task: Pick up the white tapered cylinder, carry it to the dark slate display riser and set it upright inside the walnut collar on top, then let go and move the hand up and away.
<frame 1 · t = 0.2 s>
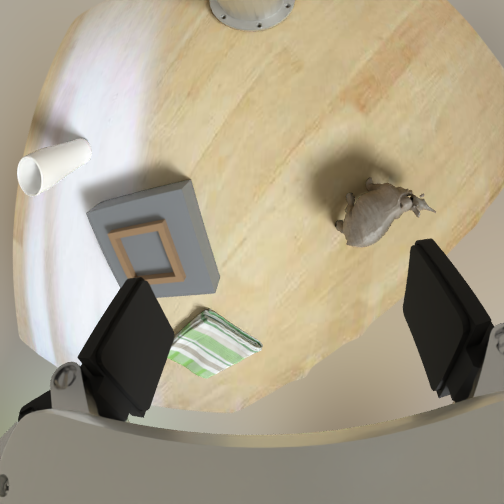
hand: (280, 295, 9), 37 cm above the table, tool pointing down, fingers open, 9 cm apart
white tapered cylinder: (83, 150, 44), on the table
display riser: (157, 239, 52), on the table
dish towel: (208, 345, 68), on the table
rhinoceros figurine: (374, 198, 44), on the table
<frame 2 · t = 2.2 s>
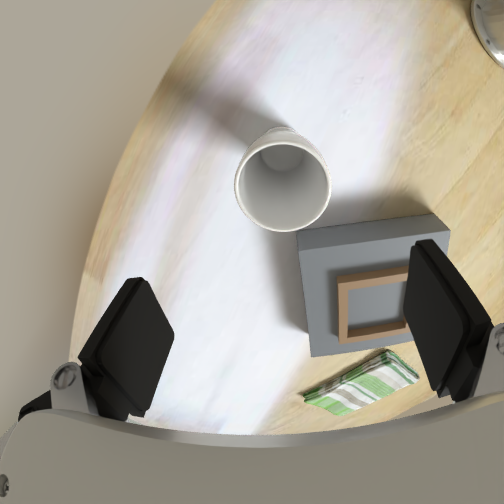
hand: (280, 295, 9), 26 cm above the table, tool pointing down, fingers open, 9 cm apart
white tapered cylinder: (281, 147, 31), on the table
display riser: (369, 281, 40), on the table
dish towel: (362, 384, 55), on the table
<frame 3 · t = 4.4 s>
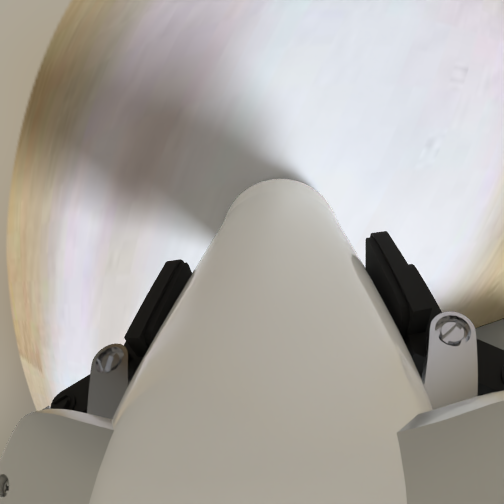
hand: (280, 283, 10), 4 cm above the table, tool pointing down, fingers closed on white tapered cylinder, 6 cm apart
white tapered cylinder: (280, 225, 14), on the table, touching gripper
display riser: (405, 402, 22), on the table
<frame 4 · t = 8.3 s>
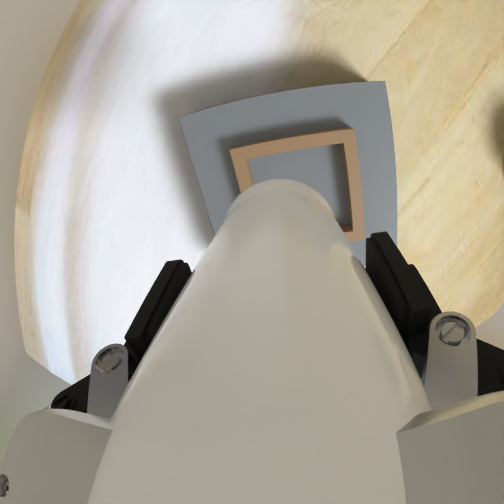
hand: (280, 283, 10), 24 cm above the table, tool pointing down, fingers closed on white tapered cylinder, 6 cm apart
white tapered cylinder: (280, 225, 14), point 19 cm above the table, touching gripper
display riser: (298, 177, 31), on the table
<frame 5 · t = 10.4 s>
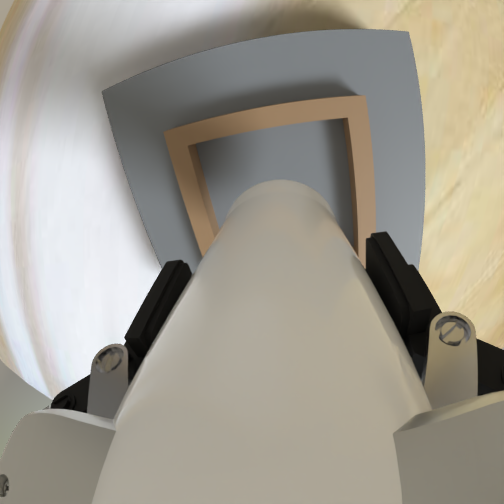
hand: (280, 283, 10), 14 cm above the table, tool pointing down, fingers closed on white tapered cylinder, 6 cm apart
white tapered cylinder: (280, 226, 14), point 9 cm above the table, touching gripper
display riser: (280, 173, 22), on the table
when the fingers open (11 cm above the table, at t = 12.3 s): white tapered cylinder drops 1 cm, resting on display riser.
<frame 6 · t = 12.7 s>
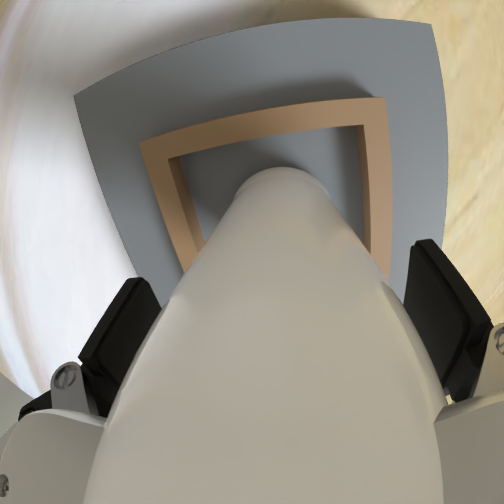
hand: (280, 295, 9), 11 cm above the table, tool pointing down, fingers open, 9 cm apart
white tapered cylinder: (282, 211, 15), point 5 cm above the table, touching display riser
display riser: (280, 186, 19), on the table
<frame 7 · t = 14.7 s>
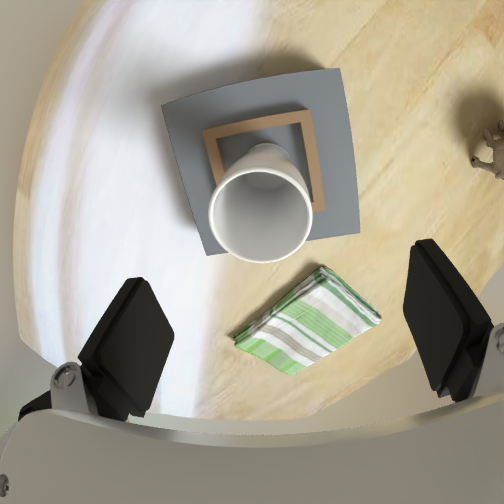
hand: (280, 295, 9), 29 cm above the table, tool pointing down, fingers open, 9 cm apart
white tapered cylinder: (267, 164, 31), point 5 cm above the table, touching display riser
display riser: (268, 158, 35), on the table
dish towel: (306, 325, 50), on the table
rhinoceros figurine: (501, 143, 28), on the table
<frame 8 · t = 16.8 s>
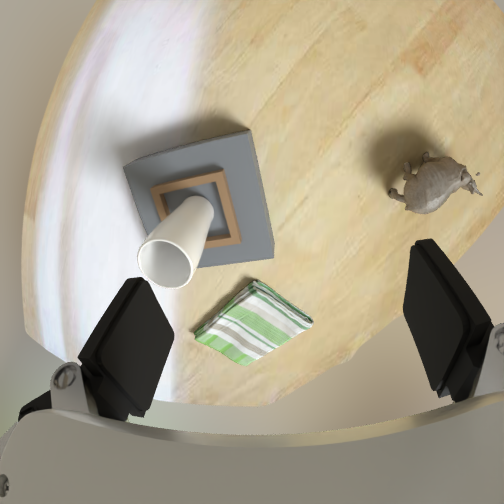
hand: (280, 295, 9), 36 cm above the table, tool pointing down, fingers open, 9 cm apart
white tapered cylinder: (198, 210, 43), point 5 cm above the table, touching display riser
display riser: (205, 200, 47), on the table
dish towel: (251, 325, 62), on the table
rhinoceros figurine: (427, 173, 40), on the table
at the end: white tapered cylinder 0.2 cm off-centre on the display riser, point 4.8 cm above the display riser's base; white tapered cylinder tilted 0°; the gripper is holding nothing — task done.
